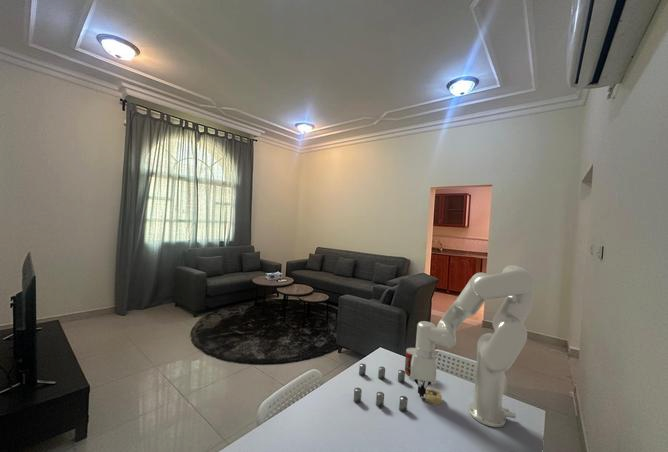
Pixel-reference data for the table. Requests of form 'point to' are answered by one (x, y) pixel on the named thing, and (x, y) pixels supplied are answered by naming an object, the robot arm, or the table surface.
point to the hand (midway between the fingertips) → (421, 395)
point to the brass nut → (433, 396)
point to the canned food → (408, 360)
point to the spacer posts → (380, 394)
